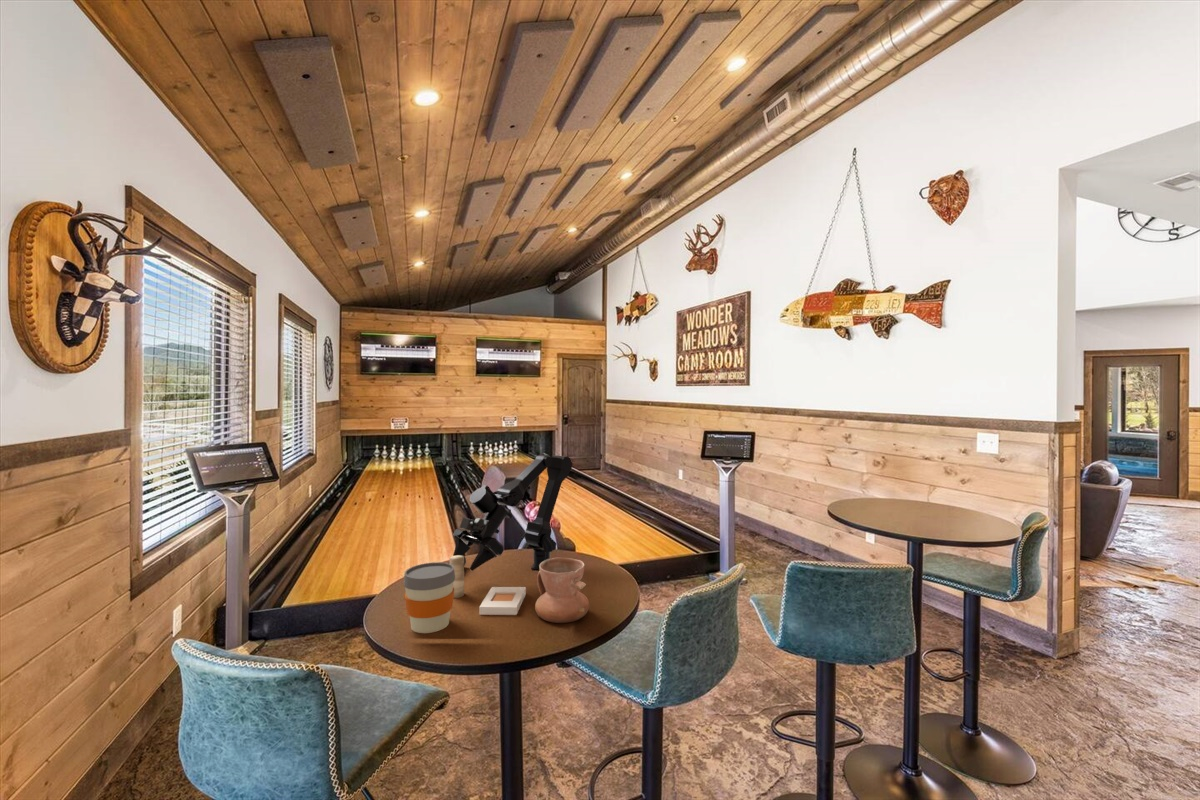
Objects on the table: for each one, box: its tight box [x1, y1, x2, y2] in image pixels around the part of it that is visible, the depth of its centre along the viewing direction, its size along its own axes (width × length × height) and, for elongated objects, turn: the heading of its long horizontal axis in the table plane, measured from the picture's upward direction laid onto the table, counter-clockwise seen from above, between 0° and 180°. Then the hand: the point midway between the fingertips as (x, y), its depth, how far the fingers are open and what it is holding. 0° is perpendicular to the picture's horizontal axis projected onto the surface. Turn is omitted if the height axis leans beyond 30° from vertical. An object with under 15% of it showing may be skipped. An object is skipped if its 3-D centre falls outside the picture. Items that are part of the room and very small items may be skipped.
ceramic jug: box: [534, 557, 590, 624], centre depth 138 cm, size 18×14×14 cm
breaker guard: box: [478, 586, 527, 616], centre depth 144 cm, size 14×10×3 cm
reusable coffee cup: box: [403, 561, 455, 634], centre depth 131 cm, size 13×13×15 cm
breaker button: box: [493, 595, 515, 601], centre depth 144 cm, size 5×5×2 cm
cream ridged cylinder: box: [449, 555, 465, 599], centre depth 150 cm, size 4×4×12 cm
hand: (461, 566), depth 152 cm, fingers open, 9 cm apart
